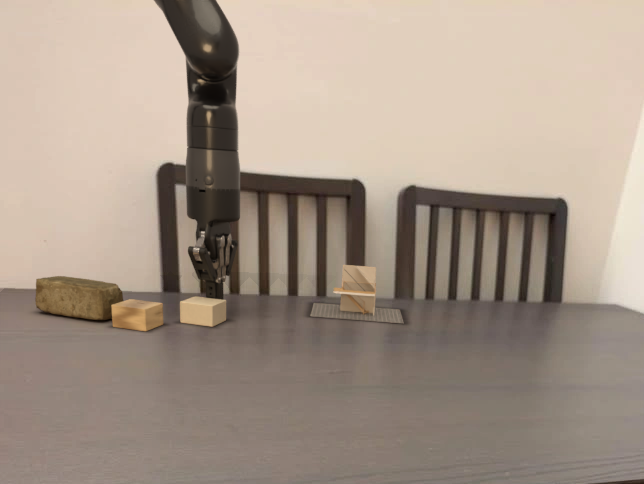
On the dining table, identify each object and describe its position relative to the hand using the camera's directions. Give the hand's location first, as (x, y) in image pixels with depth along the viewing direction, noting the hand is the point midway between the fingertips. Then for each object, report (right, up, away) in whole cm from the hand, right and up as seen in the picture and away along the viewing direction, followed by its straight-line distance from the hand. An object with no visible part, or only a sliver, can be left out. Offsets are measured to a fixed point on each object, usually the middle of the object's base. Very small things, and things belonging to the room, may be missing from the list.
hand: (214, 307), depth 110 cm
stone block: (-18, -3, -6) cm, 19 cm away
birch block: (-9, -5, -9) cm, 13 cm away
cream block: (-1, -3, -3) cm, 4 cm away
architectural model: (+21, +2, +11) cm, 24 cm away
